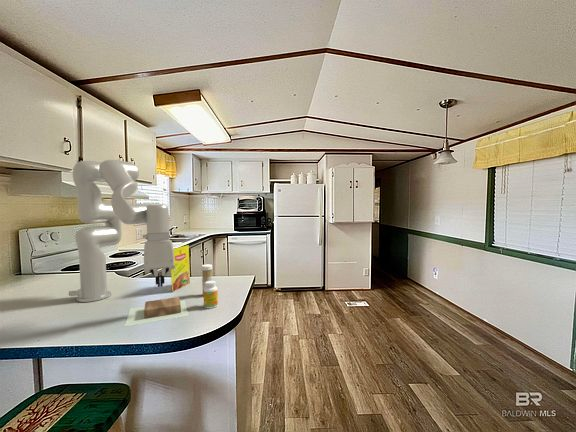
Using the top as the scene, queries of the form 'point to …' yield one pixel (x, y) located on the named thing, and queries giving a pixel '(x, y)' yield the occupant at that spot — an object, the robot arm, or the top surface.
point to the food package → (180, 268)
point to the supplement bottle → (210, 295)
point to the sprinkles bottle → (206, 274)
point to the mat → (138, 317)
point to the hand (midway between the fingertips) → (160, 285)
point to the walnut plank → (162, 307)
